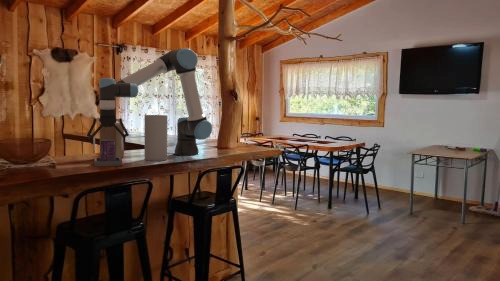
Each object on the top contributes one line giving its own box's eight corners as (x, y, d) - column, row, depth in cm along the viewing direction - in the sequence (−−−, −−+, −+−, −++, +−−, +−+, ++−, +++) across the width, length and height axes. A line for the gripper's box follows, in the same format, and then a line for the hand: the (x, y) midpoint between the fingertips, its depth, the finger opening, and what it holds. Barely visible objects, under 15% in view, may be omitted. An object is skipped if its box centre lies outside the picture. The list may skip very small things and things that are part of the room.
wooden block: (115, 159, 222) (115, 123, 220) (99, 159, 224) (98, 123, 222) (124, 157, 232) (124, 123, 230) (108, 156, 234) (108, 122, 232)
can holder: (120, 161, 216) (120, 157, 216) (122, 165, 204) (122, 160, 204) (94, 162, 211) (94, 157, 211) (94, 166, 199) (94, 161, 199)
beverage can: (103, 161, 211) (103, 139, 210) (117, 162, 211) (117, 139, 210) (98, 163, 204) (98, 140, 203) (112, 164, 204) (112, 140, 203)
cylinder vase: (152, 162, 219) (152, 116, 216) (140, 159, 227) (140, 115, 224) (171, 159, 228) (171, 115, 225) (158, 157, 236) (158, 114, 234)
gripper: (132, 108, 213) (132, 148, 215) (81, 108, 204) (82, 149, 206) (133, 109, 206) (134, 150, 208) (80, 108, 197) (82, 151, 199)
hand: (108, 150), depth 207 cm, fingers open, 13 cm apart
